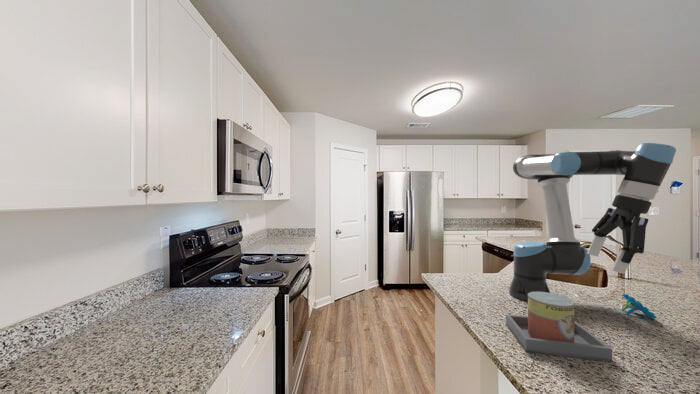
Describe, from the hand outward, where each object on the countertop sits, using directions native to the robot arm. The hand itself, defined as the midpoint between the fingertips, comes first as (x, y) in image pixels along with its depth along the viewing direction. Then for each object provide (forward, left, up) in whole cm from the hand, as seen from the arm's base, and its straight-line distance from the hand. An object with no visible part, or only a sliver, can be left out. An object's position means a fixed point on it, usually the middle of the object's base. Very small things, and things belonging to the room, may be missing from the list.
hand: (603, 262), depth 81 cm
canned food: (+6, -17, -22) cm, 29 cm away
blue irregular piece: (-21, +23, -23) cm, 39 cm away
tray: (+7, -17, -23) cm, 29 cm away
